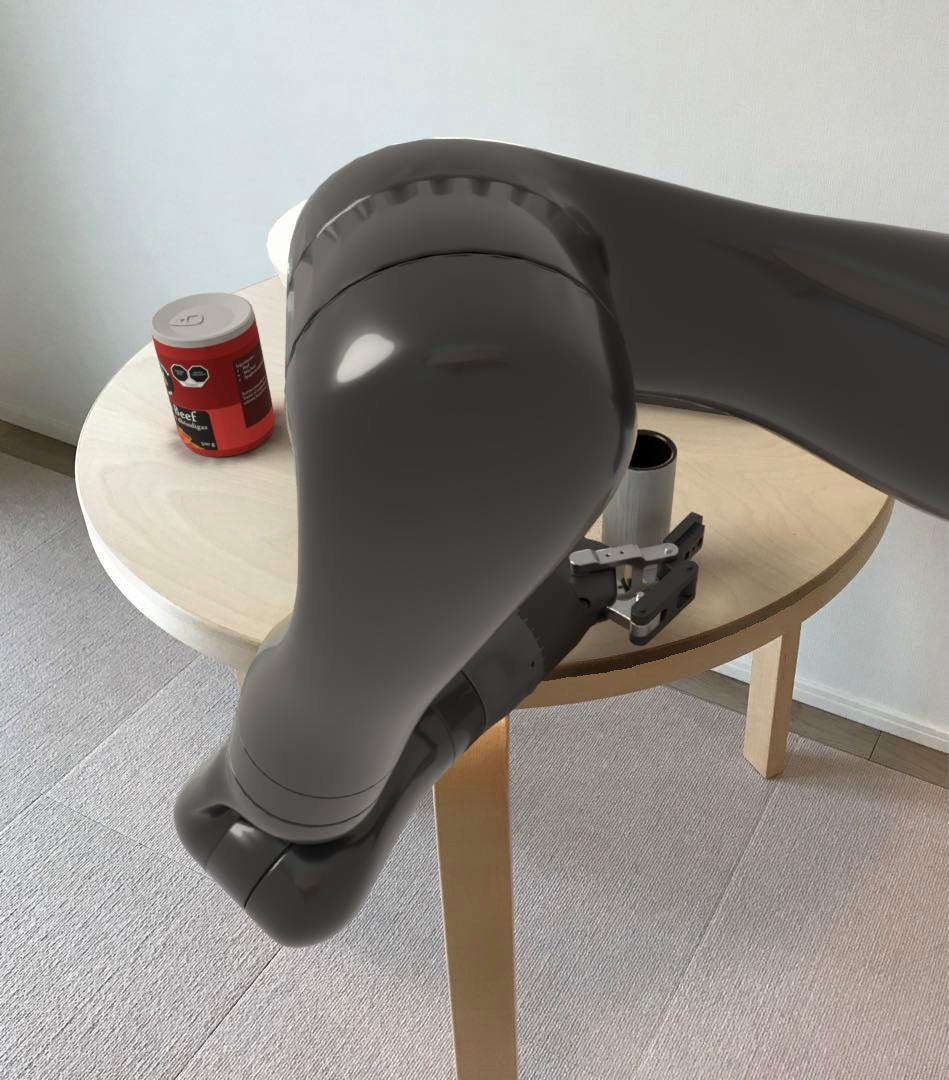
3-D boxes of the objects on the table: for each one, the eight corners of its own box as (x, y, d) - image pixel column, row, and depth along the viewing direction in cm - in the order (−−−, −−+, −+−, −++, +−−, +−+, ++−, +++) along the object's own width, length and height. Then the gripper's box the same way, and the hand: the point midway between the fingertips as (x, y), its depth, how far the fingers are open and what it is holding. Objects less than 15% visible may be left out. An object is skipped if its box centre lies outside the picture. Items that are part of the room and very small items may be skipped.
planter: (653, 598, 72) (664, 477, 66) (590, 580, 74) (595, 460, 67) (674, 557, 75) (686, 437, 69) (613, 540, 77) (619, 422, 70)
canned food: (170, 424, 91) (138, 307, 84) (259, 397, 94) (235, 282, 86) (195, 470, 86) (163, 351, 79) (289, 441, 88) (266, 322, 81)
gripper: (592, 651, 56) (744, 494, 65) (391, 545, 63) (553, 417, 72) (589, 742, 61) (730, 584, 70) (402, 634, 68) (553, 503, 77)
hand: (640, 499), depth 71 cm, fingers open, 8 cm apart
